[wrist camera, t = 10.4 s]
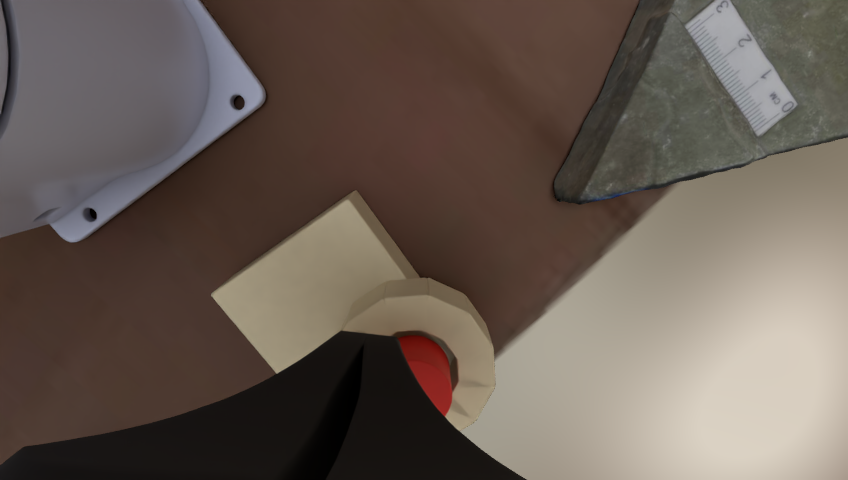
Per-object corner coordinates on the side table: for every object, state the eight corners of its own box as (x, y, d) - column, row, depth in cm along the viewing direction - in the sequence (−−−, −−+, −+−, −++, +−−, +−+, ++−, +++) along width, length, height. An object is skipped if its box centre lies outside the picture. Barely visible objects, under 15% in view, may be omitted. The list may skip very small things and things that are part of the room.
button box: (359, 429, 21) (345, 500, 17) (232, 275, 19) (184, 315, 15) (505, 338, 20) (525, 392, 16) (385, 168, 18) (375, 181, 14)
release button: (404, 413, 17) (401, 446, 15) (361, 359, 16) (354, 387, 14) (463, 376, 16) (468, 406, 15) (422, 321, 16) (422, 345, 14)
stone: (988, 107, 15) (919, 108, 18) (995, -253, 13) (915, -201, 15) (567, 212, 16) (551, 201, 19) (505, -104, 14) (496, -75, 16)
